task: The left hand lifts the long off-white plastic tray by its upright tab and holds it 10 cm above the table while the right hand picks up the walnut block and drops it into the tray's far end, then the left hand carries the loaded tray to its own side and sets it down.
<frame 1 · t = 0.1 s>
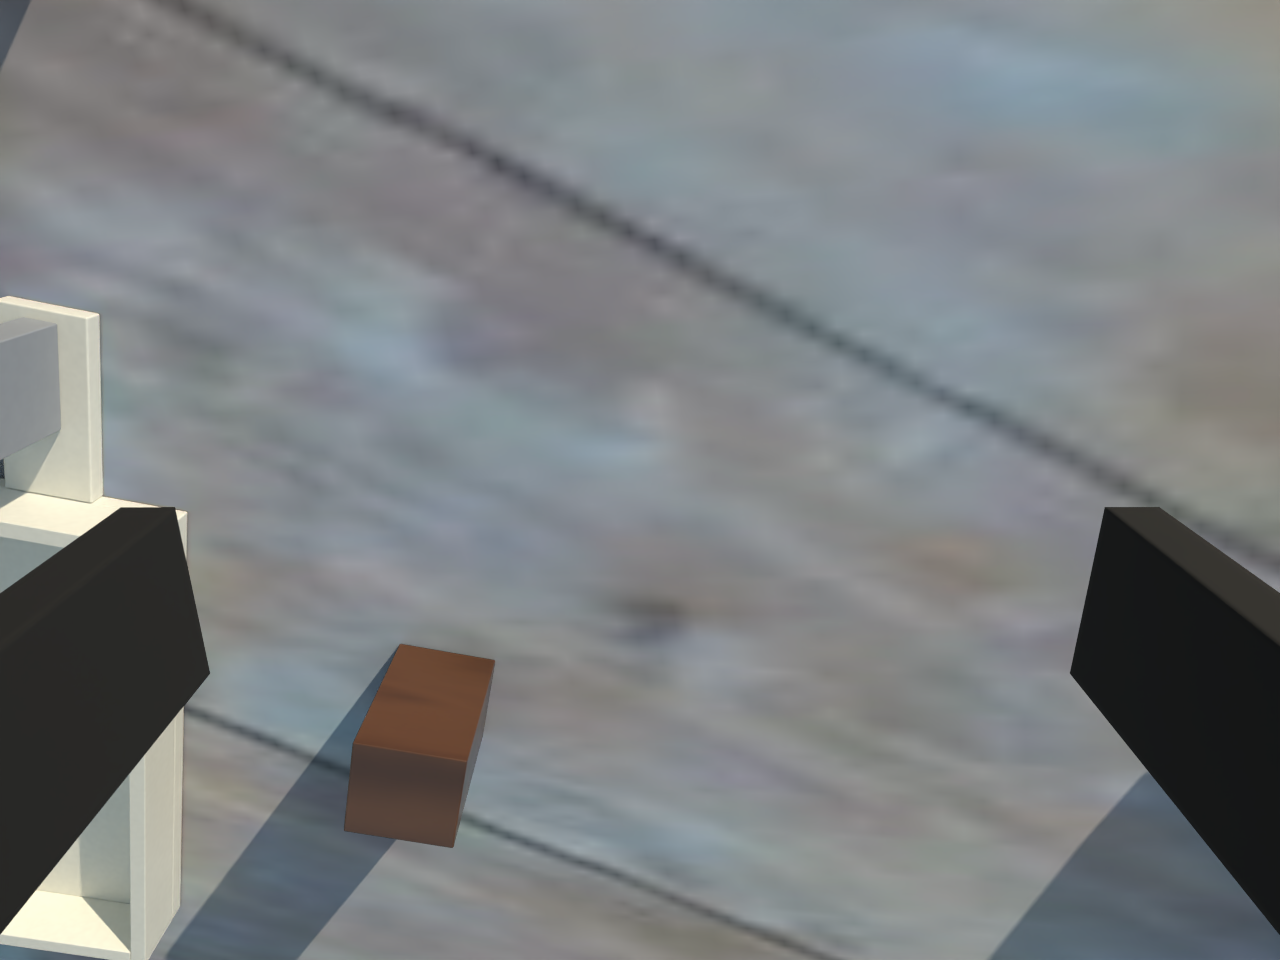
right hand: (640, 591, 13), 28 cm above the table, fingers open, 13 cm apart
tray: (69, 709, 47), on the table
walnut block: (442, 691, 46), on the table
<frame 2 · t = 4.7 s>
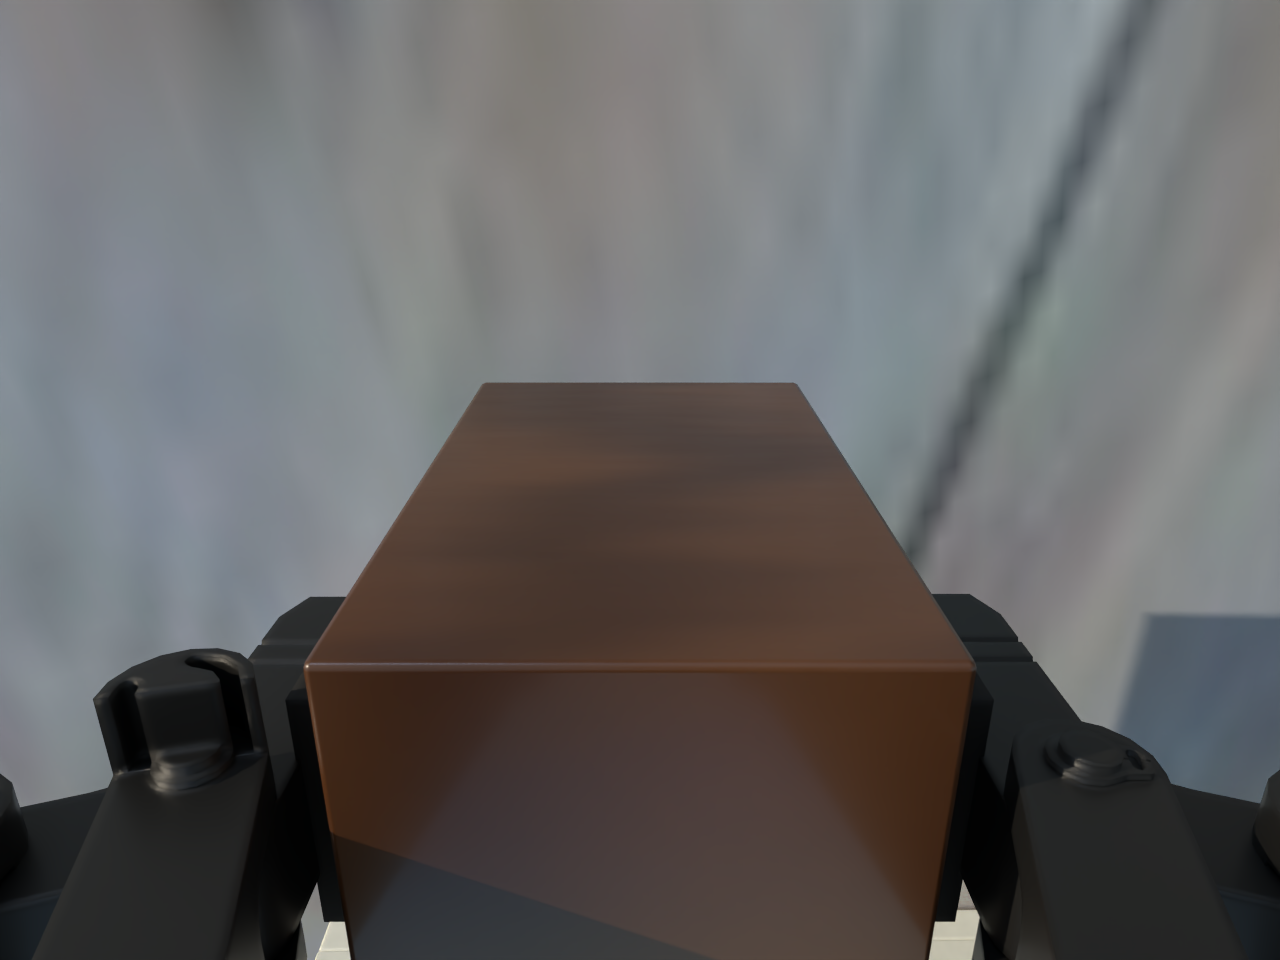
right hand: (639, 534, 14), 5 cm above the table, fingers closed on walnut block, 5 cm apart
walnut block: (639, 525, 15), point 5 cm above the table, touching right hand
when the right hand's fingers open (15 cm above the table, at t = 9.8 s): walnut block drops 4 cm, resting on tray.
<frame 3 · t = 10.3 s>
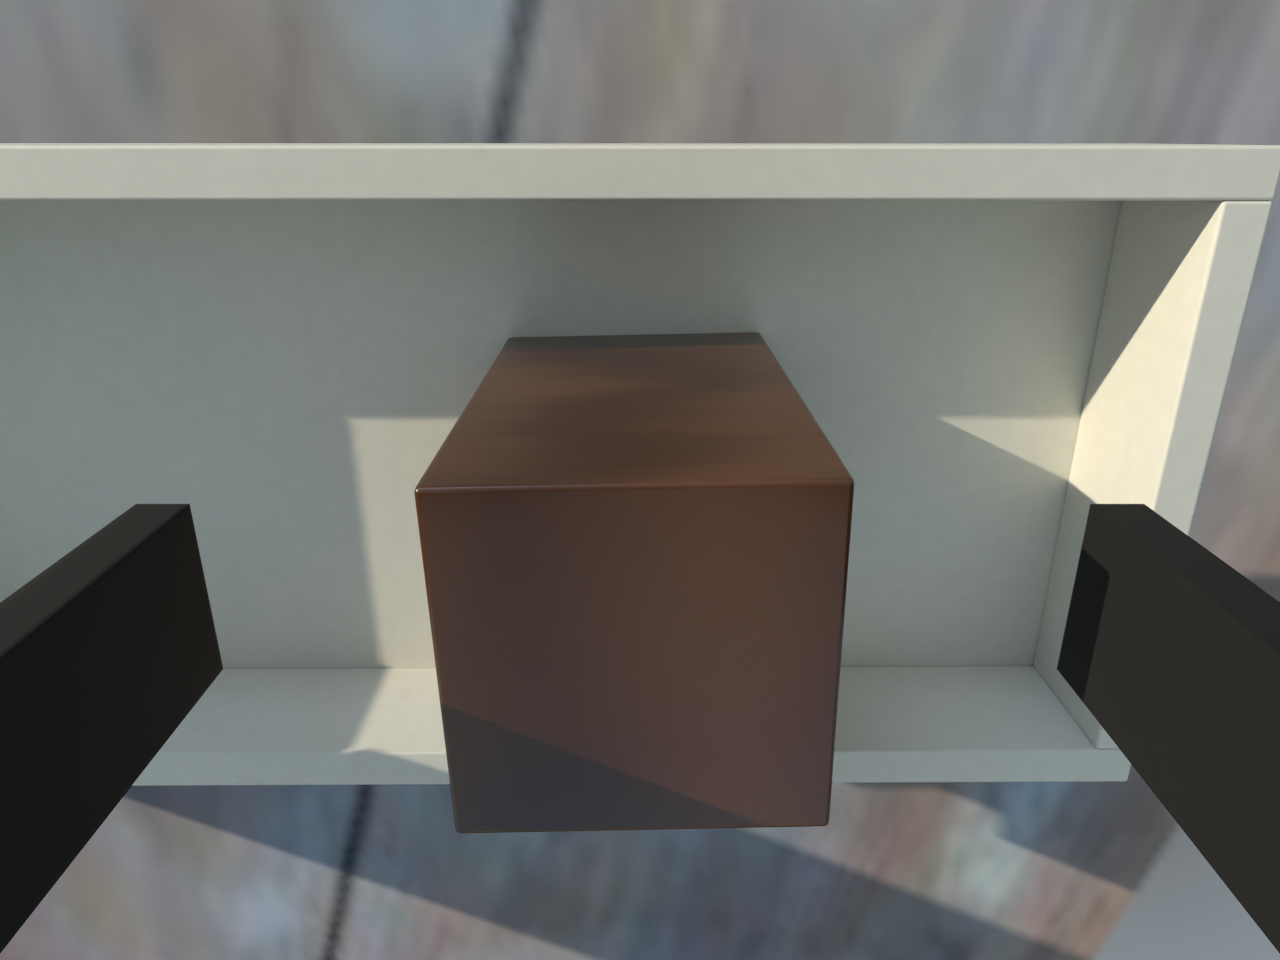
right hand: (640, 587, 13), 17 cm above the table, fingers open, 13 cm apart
tray: (494, 437, 19), point 10 cm above the table, touching left hand, walnut block
walnut block: (636, 453, 18), point 11 cm above the table, touching tray
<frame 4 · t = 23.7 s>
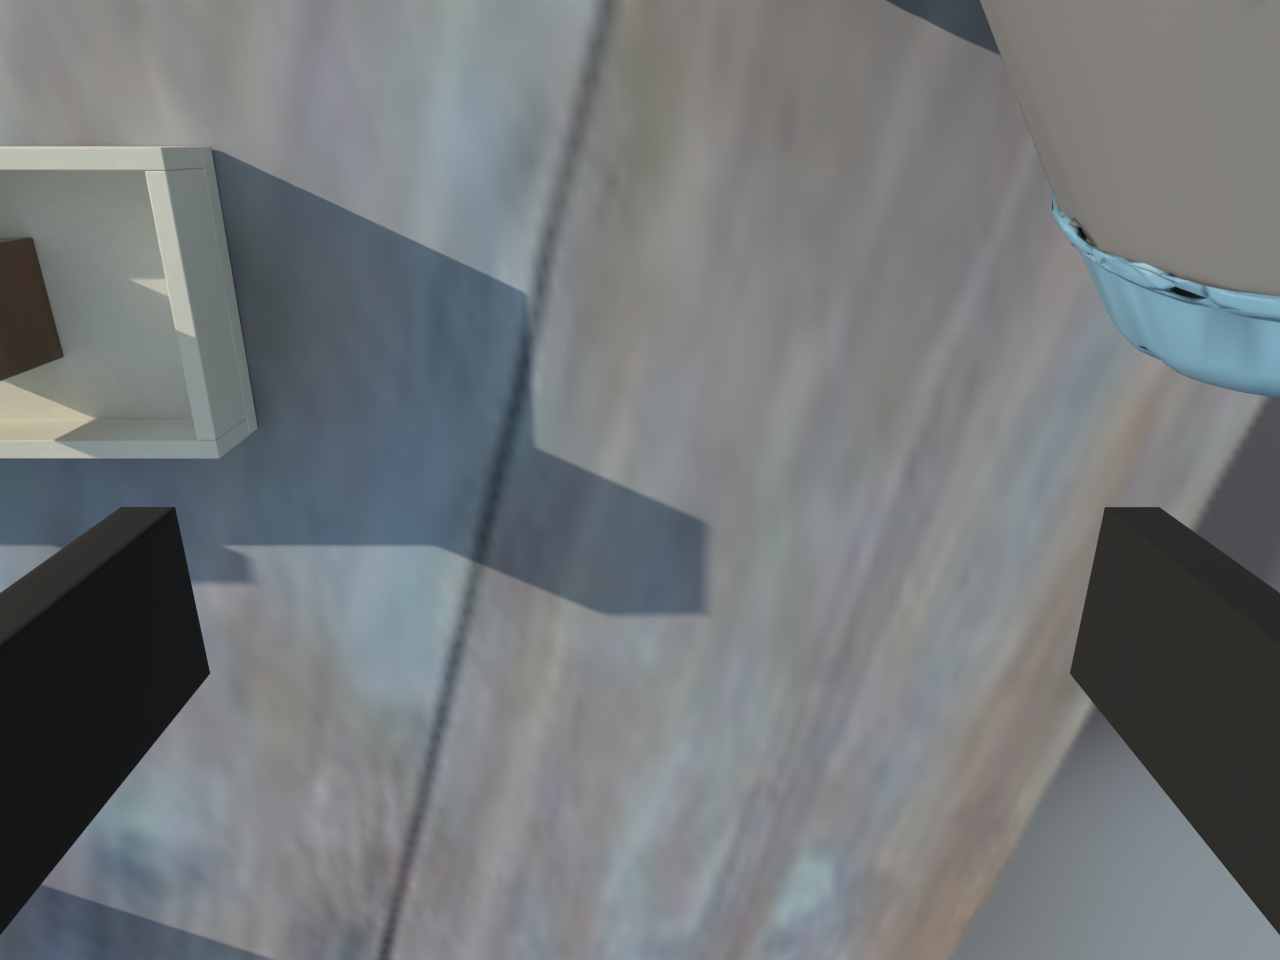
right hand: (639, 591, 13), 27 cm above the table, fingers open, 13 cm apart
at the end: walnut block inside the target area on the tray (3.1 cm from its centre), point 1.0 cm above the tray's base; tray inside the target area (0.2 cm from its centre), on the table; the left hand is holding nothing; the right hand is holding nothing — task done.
